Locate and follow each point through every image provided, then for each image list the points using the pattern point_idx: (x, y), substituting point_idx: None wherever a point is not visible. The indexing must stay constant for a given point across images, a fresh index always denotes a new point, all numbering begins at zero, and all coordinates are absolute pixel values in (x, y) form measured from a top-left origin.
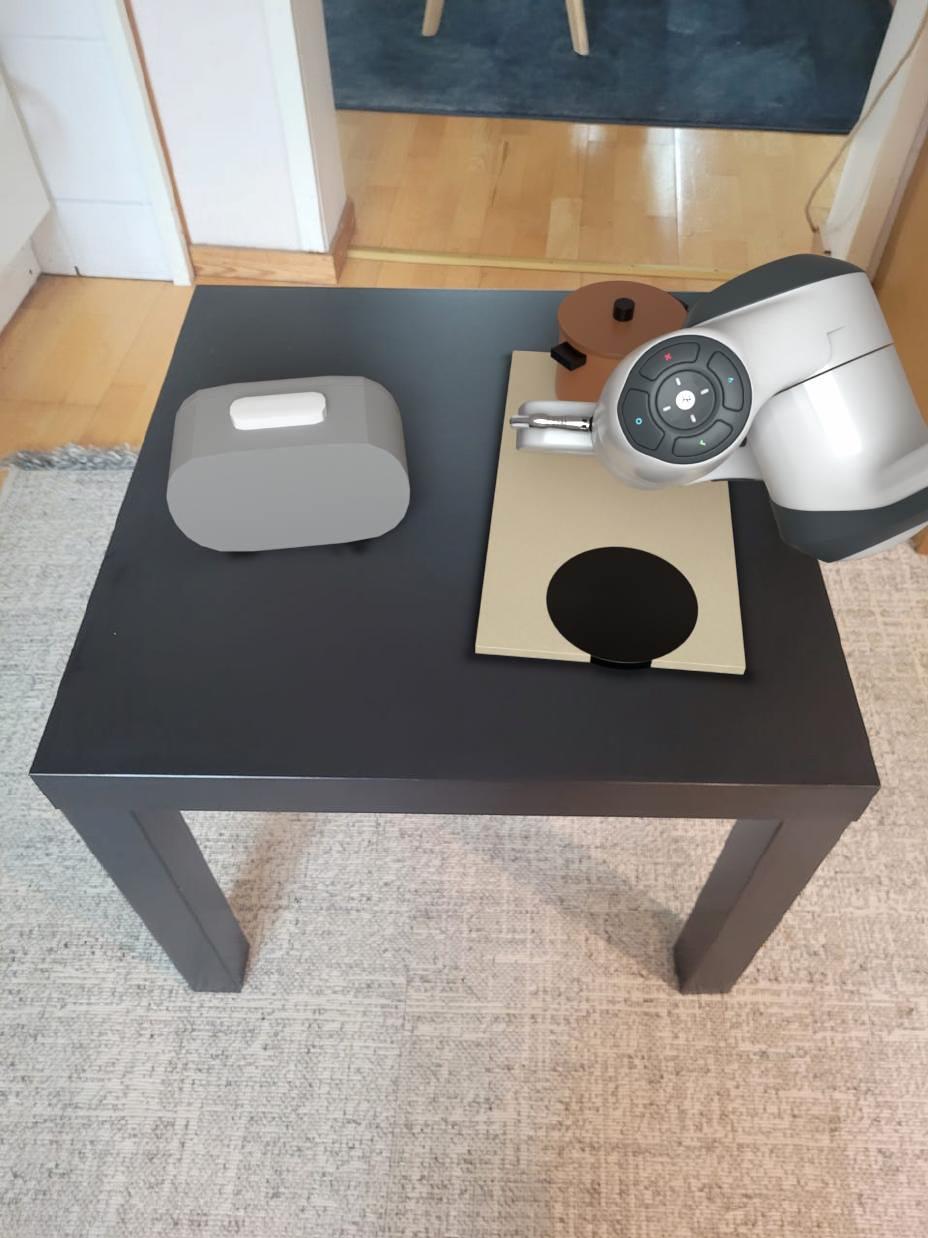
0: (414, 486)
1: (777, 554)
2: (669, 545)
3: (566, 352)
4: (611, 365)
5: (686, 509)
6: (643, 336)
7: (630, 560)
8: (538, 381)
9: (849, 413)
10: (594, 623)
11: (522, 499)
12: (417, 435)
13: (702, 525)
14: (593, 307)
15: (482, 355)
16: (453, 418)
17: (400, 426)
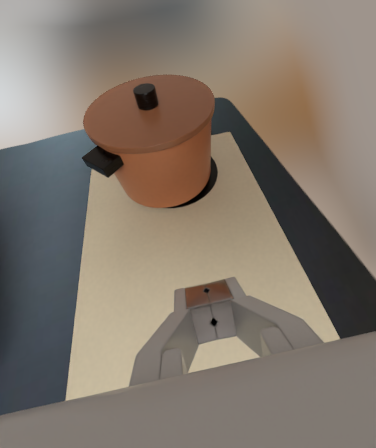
0: (4, 326)
1: (370, 312)
2: None
3: (97, 158)
4: (148, 160)
5: (264, 284)
6: (173, 119)
7: None
8: (111, 180)
9: None
10: None
11: (102, 322)
12: (17, 257)
13: (288, 303)
14: (118, 104)
15: (75, 169)
16: (49, 230)
17: None
